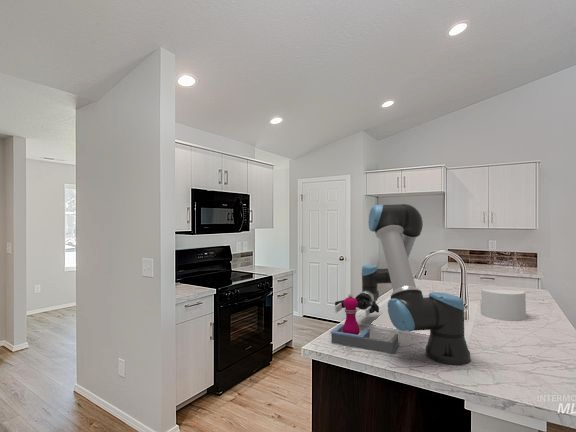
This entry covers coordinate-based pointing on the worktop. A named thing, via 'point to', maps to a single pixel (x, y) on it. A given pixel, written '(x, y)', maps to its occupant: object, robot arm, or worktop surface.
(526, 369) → the worktop surface
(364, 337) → the divider rack
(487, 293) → the container
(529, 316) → the worktop surface
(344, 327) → the pepper mill
